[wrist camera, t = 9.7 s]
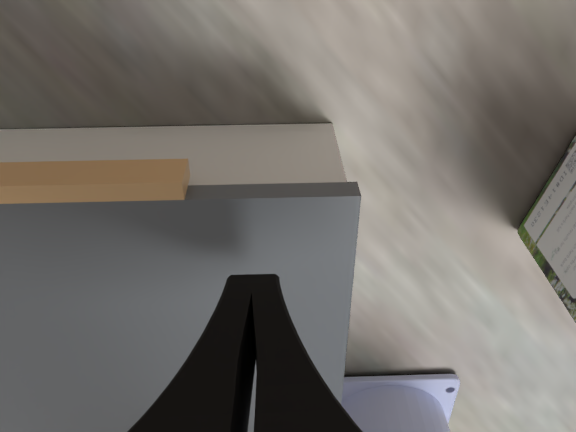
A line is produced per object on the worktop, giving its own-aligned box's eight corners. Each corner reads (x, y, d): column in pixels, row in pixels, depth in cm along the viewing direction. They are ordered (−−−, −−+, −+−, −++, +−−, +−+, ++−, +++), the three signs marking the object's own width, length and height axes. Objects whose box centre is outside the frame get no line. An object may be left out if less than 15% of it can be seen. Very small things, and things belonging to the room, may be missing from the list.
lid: (335, 404, 23) (338, 433, 22) (-27, 416, 23) (-42, 445, 22) (355, 155, 16) (362, 178, 15) (-183, 165, 15) (-219, 190, 14)
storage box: (322, 332, 27) (332, 415, 23) (18, 340, 27) (-28, 427, 22) (332, 123, 20) (349, 189, 16) (-77, 130, 20) (-168, 200, 16)
